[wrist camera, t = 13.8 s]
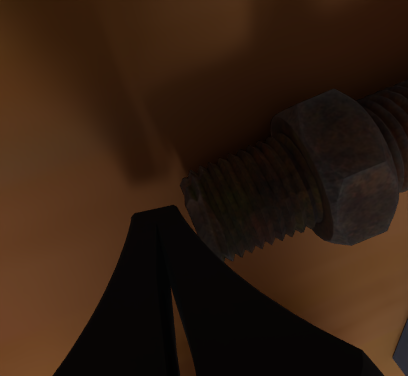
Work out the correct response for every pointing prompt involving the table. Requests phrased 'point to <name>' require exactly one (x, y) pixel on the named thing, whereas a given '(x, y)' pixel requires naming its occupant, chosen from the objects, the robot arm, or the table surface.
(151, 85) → the table surface
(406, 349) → the socket
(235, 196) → the bolt
